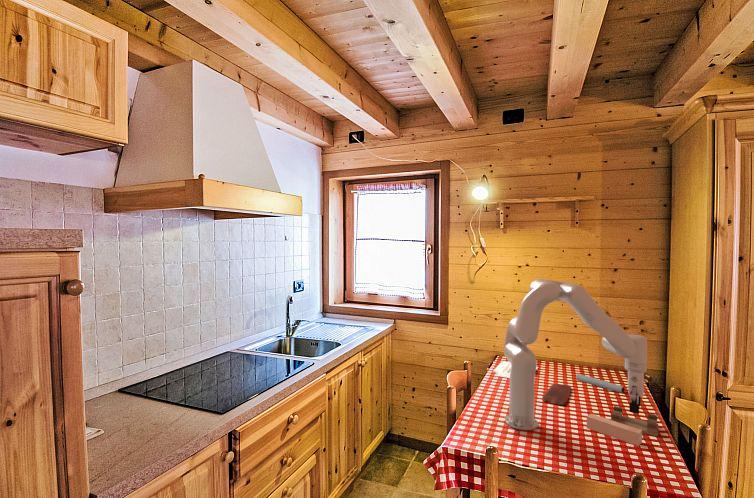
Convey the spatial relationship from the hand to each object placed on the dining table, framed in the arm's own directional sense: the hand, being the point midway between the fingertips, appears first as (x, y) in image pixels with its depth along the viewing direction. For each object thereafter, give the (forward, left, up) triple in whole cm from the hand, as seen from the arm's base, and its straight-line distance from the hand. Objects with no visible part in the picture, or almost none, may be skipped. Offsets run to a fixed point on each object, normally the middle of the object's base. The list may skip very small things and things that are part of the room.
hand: (634, 408), depth 159 cm
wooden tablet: (+15, +37, -7) cm, 40 cm away
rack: (0, 0, -7) cm, 7 cm away
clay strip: (-14, +6, -7) cm, 17 cm away
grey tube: (+39, +18, -8) cm, 44 cm away
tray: (+37, +59, -8) cm, 70 cm away
